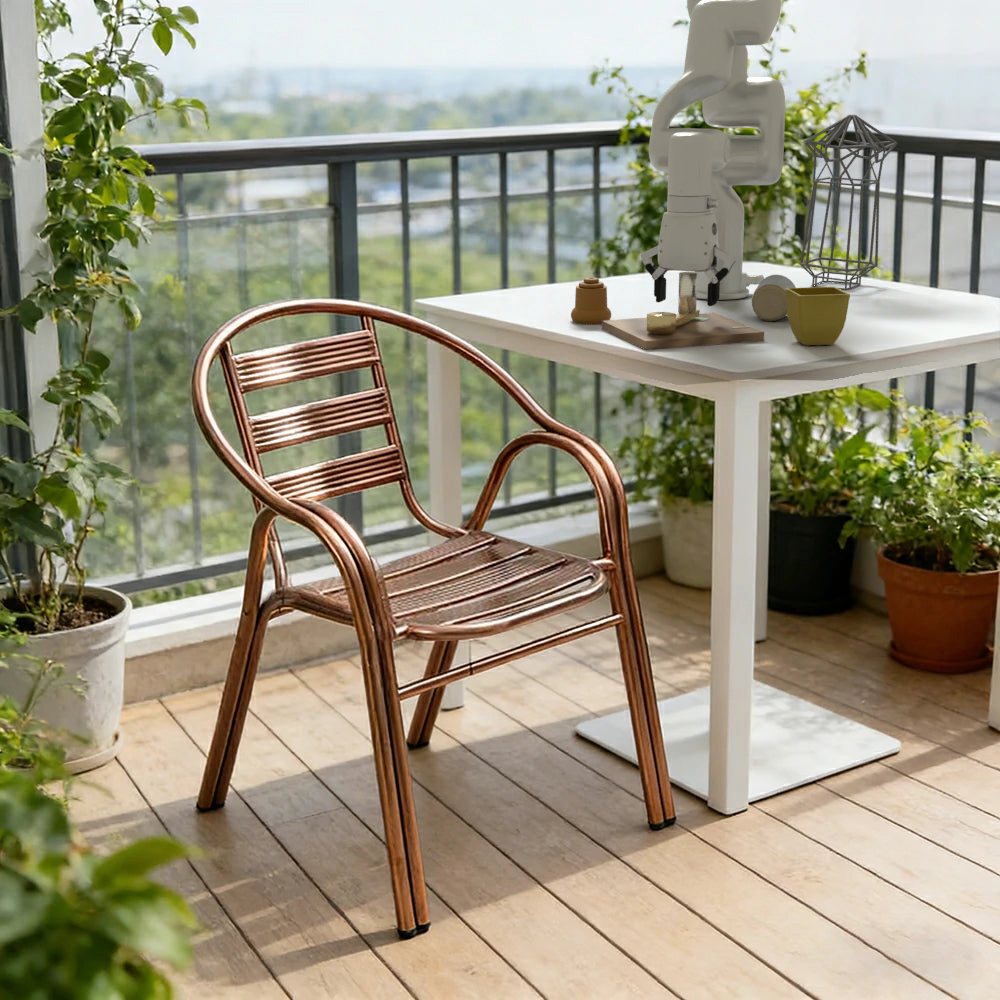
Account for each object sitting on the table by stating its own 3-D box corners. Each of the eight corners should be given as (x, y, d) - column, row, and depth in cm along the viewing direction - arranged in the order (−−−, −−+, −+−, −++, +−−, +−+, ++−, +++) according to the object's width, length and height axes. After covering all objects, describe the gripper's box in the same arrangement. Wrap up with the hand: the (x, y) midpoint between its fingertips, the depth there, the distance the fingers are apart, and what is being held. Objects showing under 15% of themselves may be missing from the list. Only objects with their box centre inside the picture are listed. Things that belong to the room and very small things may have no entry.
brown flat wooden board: (712, 320, 262) (713, 312, 261) (763, 340, 244) (764, 331, 243) (601, 328, 256) (601, 320, 255) (645, 349, 237) (645, 340, 237)
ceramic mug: (748, 321, 261) (751, 279, 258) (755, 313, 268) (758, 273, 266) (807, 325, 258) (810, 283, 255) (812, 317, 265) (815, 276, 263)
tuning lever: (669, 334, 240) (670, 286, 237) (641, 332, 242) (642, 284, 239) (707, 317, 255) (708, 271, 252) (681, 314, 257) (682, 269, 254)
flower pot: (782, 339, 245) (784, 287, 242) (831, 337, 246) (834, 285, 243) (796, 349, 237) (799, 295, 234) (847, 347, 237) (851, 294, 234)
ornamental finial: (588, 326, 258) (562, 321, 264) (619, 321, 262) (593, 316, 268) (588, 282, 256) (562, 278, 262) (620, 278, 260) (593, 274, 266)
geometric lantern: (817, 278, 308) (831, 112, 297) (887, 286, 299) (903, 115, 288) (786, 287, 296) (799, 114, 285) (858, 296, 287) (874, 117, 276)
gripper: (743, 205, 246) (739, 302, 251) (650, 201, 254) (648, 296, 259) (729, 209, 240) (725, 309, 245) (634, 205, 247) (633, 303, 253)
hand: (686, 302), depth 252 cm, fingers open, 9 cm apart
